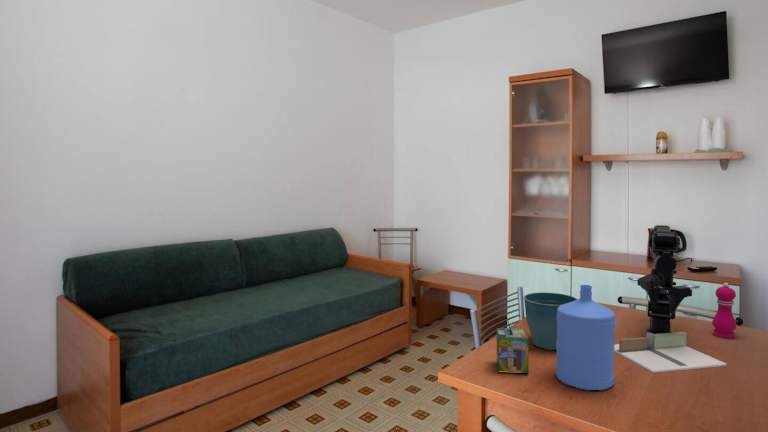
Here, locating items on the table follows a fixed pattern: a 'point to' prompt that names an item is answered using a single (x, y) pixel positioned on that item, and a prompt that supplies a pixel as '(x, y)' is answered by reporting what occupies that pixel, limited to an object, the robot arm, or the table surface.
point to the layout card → (663, 355)
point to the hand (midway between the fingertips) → (662, 310)
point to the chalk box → (512, 350)
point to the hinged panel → (669, 339)
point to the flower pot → (544, 317)
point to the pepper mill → (724, 313)
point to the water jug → (585, 343)
